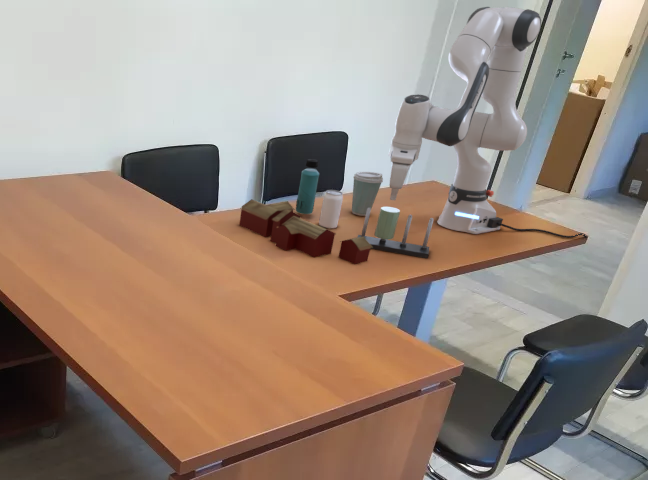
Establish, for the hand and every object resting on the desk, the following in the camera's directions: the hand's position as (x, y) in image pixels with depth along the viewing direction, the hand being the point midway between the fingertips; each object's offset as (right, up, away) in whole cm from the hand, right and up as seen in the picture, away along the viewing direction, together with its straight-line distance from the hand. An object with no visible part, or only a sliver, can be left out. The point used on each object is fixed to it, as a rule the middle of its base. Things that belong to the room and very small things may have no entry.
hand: (393, 195), depth 225 cm
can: (-15, -5, +24) cm, 29 cm away
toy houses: (-28, -14, +7) cm, 32 cm away
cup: (-1, -12, +7) cm, 13 cm away
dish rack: (+2, -15, +8) cm, 17 cm away
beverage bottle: (-22, +1, +33) cm, 39 cm away
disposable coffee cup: (+1, +3, +39) cm, 40 cm away
